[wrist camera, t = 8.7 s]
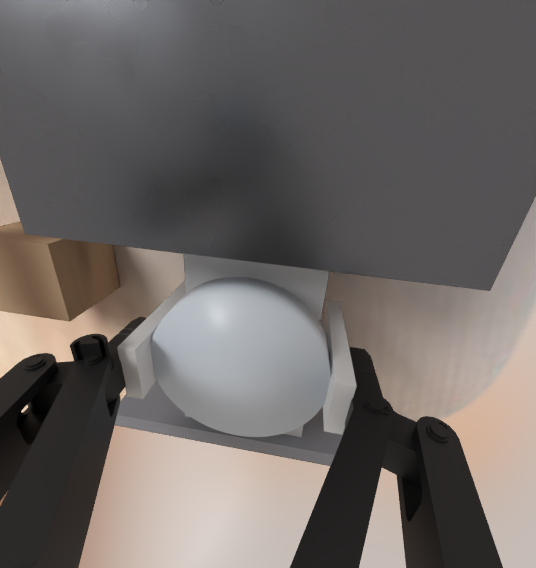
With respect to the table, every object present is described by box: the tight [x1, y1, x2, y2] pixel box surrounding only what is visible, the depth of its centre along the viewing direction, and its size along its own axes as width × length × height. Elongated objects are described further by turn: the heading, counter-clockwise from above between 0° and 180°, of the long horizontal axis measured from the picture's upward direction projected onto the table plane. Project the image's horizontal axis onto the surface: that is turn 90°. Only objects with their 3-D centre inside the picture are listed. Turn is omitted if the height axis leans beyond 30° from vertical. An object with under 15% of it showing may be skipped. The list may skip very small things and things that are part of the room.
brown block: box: [0, 222, 120, 321], centre depth 18 cm, size 5×5×5 cm
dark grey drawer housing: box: [0, 0, 536, 291], centre depth 10 cm, size 16×13×9 cm
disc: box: [151, 277, 331, 437], centre depth 13 cm, size 8×8×2 cm
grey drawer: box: [115, 254, 345, 466], centre depth 16 cm, size 16×13×7 cm
